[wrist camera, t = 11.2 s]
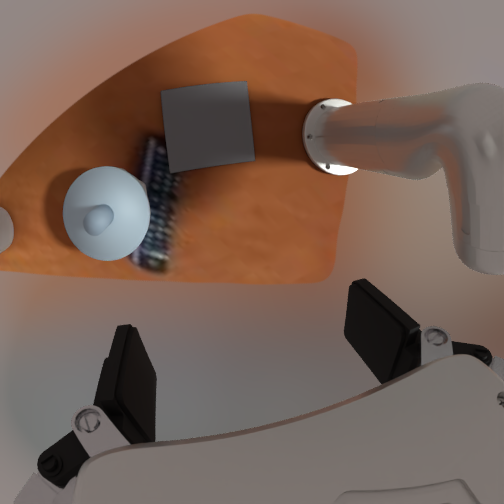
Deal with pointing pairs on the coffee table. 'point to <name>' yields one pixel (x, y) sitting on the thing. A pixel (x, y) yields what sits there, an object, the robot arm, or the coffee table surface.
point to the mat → (207, 125)
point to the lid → (106, 213)
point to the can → (5, 230)
